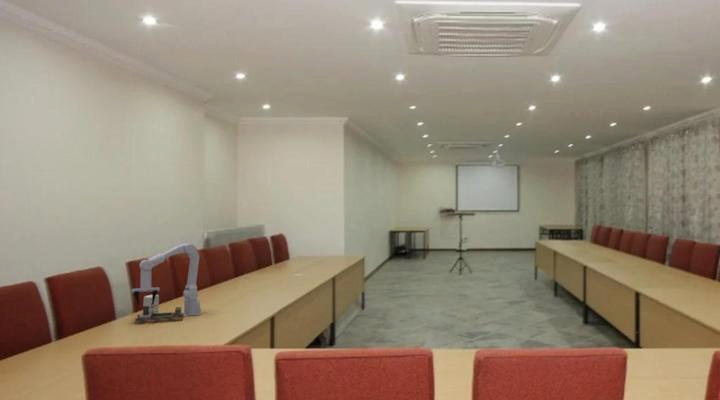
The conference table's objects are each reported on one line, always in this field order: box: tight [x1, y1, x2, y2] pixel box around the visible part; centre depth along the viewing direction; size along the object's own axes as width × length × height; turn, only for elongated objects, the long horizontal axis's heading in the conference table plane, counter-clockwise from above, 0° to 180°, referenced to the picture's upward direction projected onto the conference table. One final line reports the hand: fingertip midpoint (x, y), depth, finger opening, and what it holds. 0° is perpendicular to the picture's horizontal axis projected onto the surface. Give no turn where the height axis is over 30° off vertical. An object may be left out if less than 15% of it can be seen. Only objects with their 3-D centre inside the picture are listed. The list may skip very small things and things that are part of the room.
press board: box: [134, 306, 184, 325], centre depth 265 cm, size 25×13×6 cm, turn 108°
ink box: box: [142, 294, 160, 314], centre depth 278 cm, size 9×5×12 cm, turn 168°
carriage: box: [139, 306, 154, 318], centre depth 263 cm, size 7×7×7 cm
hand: (145, 304), depth 263 cm, fingers open, 7 cm apart
